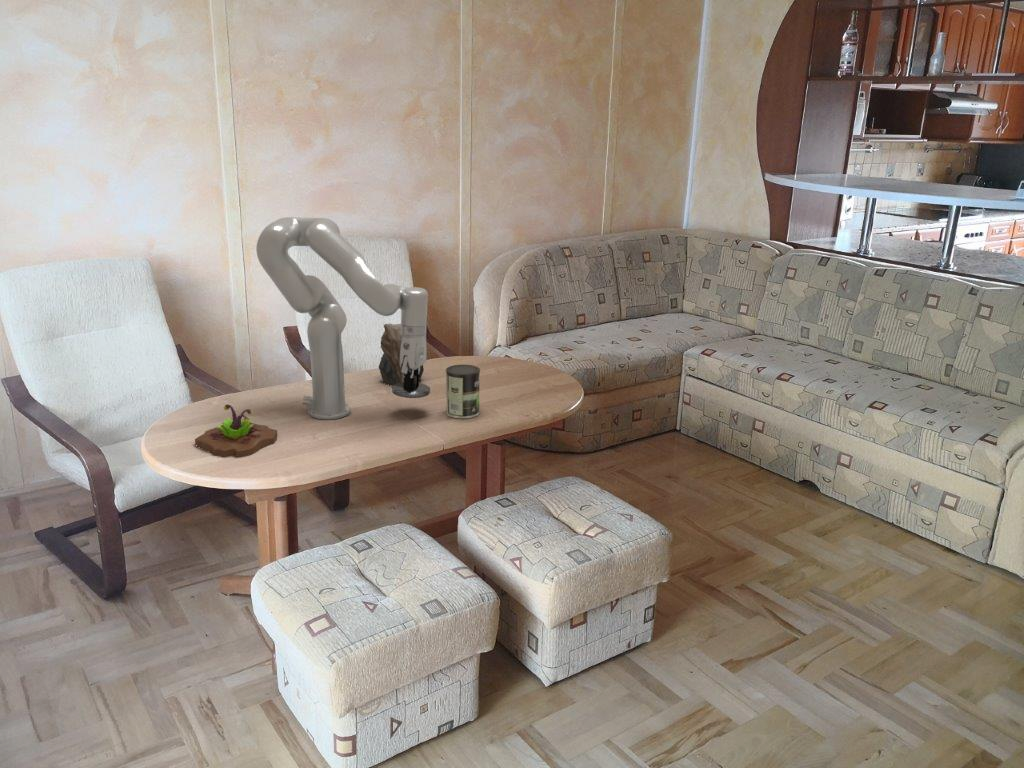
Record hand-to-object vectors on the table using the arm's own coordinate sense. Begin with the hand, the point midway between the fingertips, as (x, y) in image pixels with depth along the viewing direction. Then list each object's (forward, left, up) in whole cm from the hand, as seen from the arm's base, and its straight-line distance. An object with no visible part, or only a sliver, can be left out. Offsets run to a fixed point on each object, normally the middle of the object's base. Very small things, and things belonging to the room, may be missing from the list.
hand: (411, 387), depth 256 cm
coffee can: (+14, +6, -9) cm, 18 cm away
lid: (0, 0, -1) cm, 1 cm away
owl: (-15, +25, -9) cm, 31 cm away
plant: (-37, -37, -9) cm, 53 cm away
